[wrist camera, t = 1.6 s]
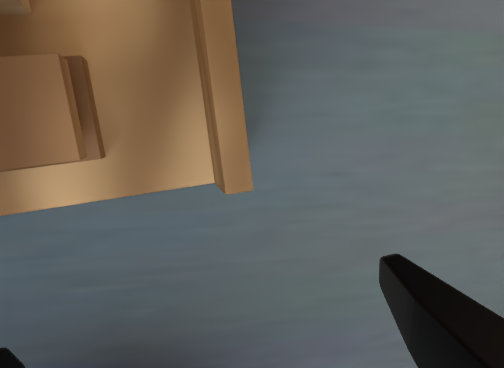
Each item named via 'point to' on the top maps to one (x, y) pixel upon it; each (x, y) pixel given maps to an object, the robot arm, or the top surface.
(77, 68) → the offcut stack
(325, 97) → the top surface
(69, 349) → the top surface
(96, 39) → the pine rack
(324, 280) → the top surface
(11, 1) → the square wooden post
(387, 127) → the top surface
